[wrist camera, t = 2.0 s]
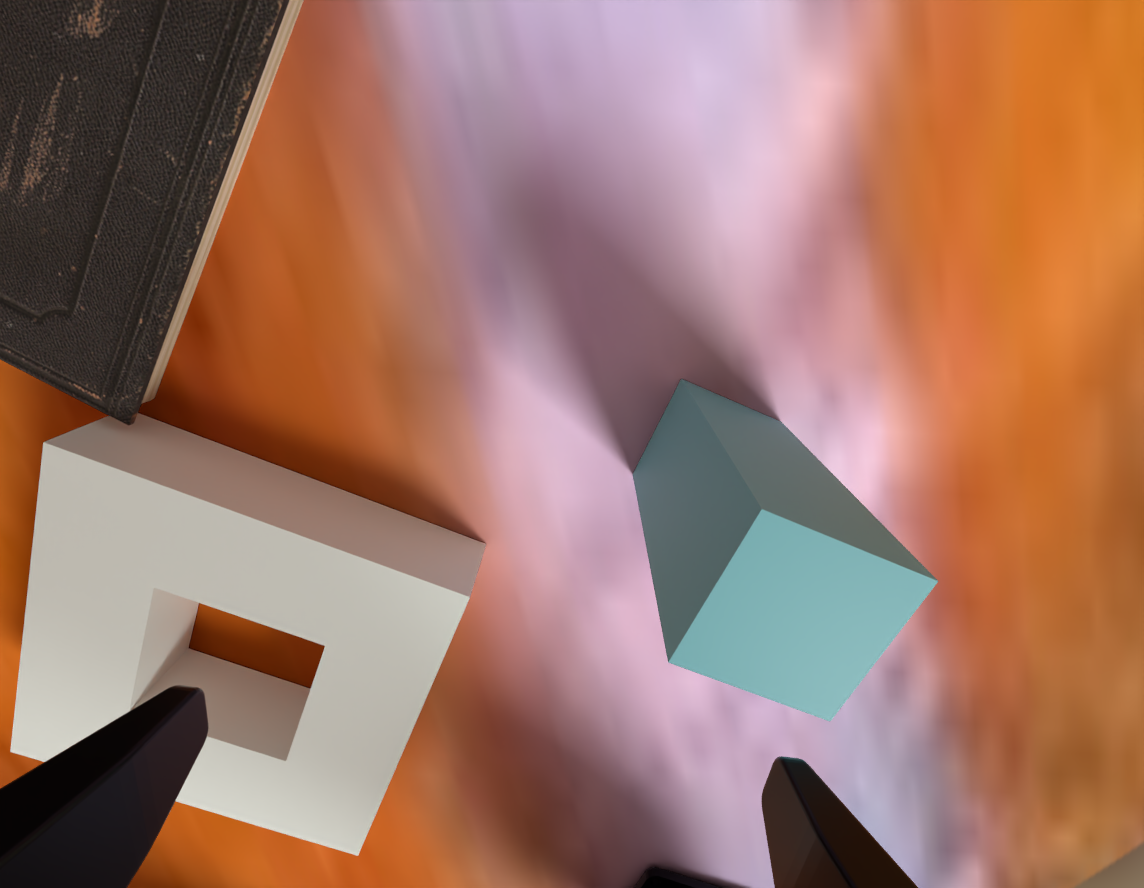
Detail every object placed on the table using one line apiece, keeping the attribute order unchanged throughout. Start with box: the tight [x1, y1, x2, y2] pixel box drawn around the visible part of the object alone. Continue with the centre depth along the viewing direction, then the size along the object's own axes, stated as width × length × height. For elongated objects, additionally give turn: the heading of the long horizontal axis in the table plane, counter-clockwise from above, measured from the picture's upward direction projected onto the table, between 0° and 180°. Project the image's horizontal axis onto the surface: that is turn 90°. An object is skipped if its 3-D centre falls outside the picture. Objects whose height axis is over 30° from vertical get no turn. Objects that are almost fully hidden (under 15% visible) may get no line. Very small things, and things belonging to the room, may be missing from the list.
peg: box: [633, 379, 938, 721], centre depth 17 cm, size 4×4×10 cm
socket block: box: [10, 413, 486, 856], centre depth 23 cm, size 14×14×4 cm
